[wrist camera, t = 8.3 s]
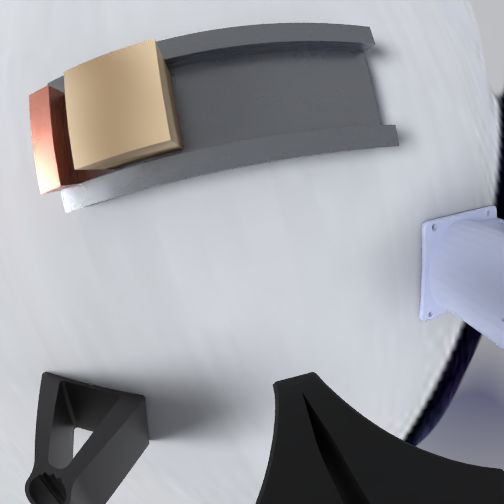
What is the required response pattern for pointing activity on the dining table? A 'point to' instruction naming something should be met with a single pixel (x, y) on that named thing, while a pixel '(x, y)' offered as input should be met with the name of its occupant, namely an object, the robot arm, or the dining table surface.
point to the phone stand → (95, 448)
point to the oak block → (121, 108)
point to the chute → (232, 108)
